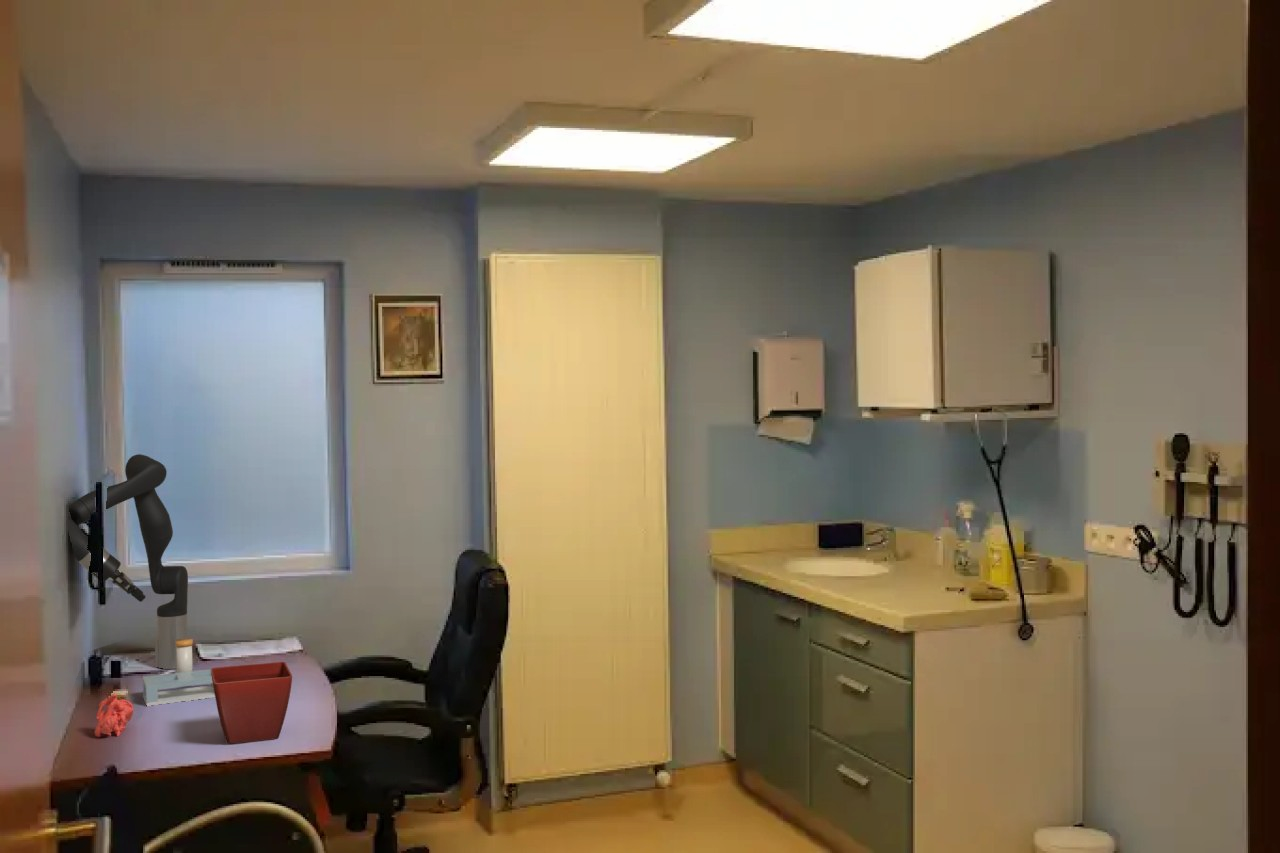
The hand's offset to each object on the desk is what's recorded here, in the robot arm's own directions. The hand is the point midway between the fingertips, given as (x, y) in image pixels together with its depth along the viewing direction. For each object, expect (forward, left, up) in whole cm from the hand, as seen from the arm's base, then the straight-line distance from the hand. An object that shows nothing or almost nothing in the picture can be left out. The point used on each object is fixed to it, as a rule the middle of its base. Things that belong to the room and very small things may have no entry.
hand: (142, 597), depth 349 cm
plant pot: (+58, -37, -29) cm, 74 cm away
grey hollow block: (+17, -5, -28) cm, 33 cm away
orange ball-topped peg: (+9, +7, -28) cm, 31 cm away
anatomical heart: (+21, -41, -29) cm, 55 cm away
